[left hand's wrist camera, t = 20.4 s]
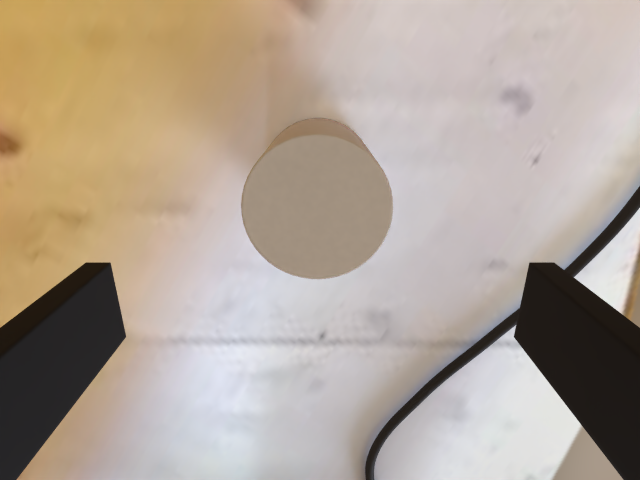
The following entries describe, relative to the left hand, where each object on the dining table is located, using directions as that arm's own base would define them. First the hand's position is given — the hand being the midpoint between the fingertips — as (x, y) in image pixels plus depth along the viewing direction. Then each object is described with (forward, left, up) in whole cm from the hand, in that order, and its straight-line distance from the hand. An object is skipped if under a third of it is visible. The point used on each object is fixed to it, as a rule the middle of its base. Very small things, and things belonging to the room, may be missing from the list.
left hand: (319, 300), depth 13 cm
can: (0, 0, -17) cm, 17 cm away
